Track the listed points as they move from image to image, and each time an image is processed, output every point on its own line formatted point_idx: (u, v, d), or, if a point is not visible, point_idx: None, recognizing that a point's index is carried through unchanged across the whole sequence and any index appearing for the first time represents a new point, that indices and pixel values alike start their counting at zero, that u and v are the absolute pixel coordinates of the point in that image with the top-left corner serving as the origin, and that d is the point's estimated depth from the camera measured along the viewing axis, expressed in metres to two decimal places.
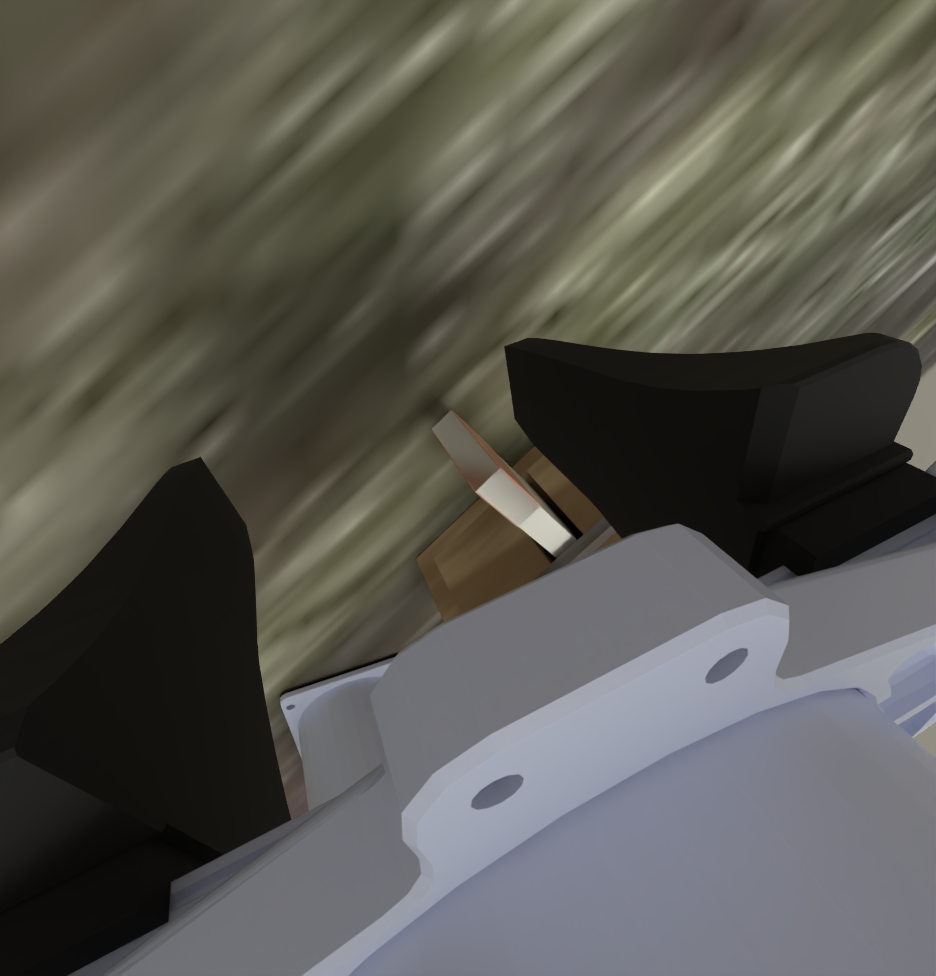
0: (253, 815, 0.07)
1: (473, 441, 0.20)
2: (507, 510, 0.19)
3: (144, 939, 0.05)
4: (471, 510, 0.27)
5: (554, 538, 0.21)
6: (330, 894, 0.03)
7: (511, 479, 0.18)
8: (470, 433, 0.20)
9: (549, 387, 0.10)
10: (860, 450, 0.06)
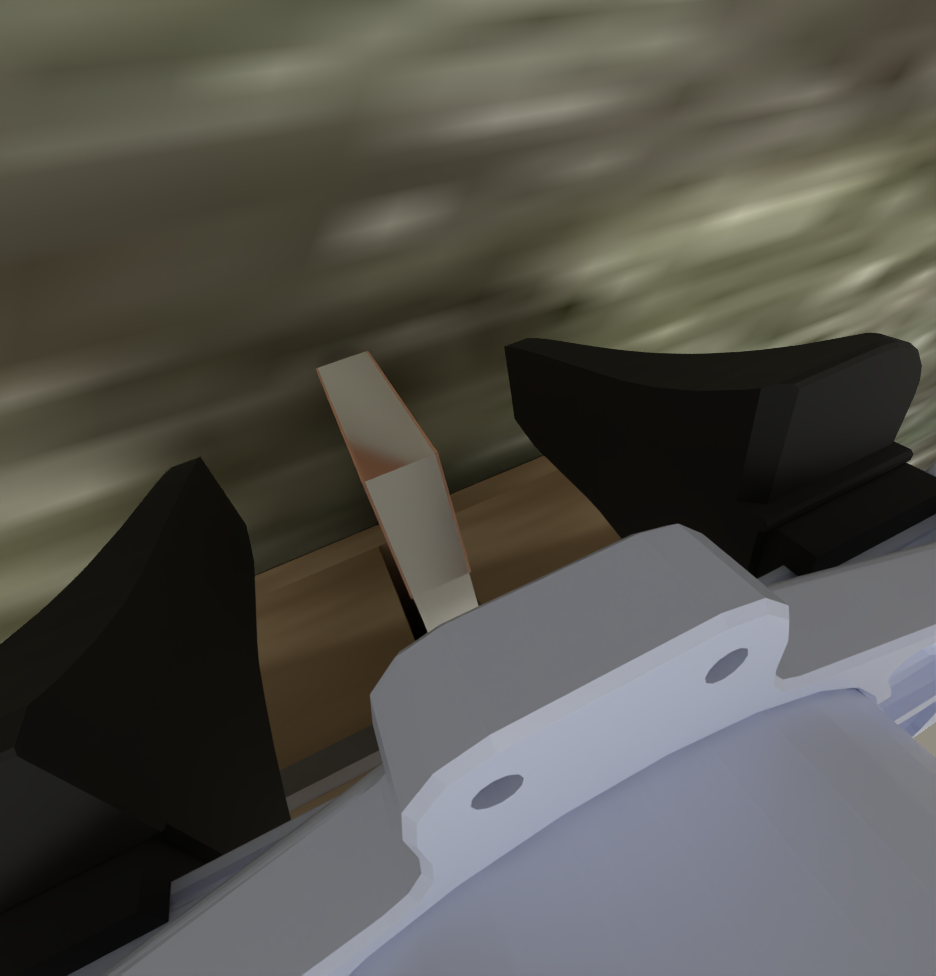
0: (253, 815, 0.07)
1: (391, 399, 0.10)
2: (408, 555, 0.09)
3: (144, 939, 0.05)
4: (324, 552, 0.16)
5: None
6: (330, 894, 0.03)
7: (446, 491, 0.08)
8: (390, 387, 0.10)
9: (549, 387, 0.10)
10: (860, 450, 0.06)
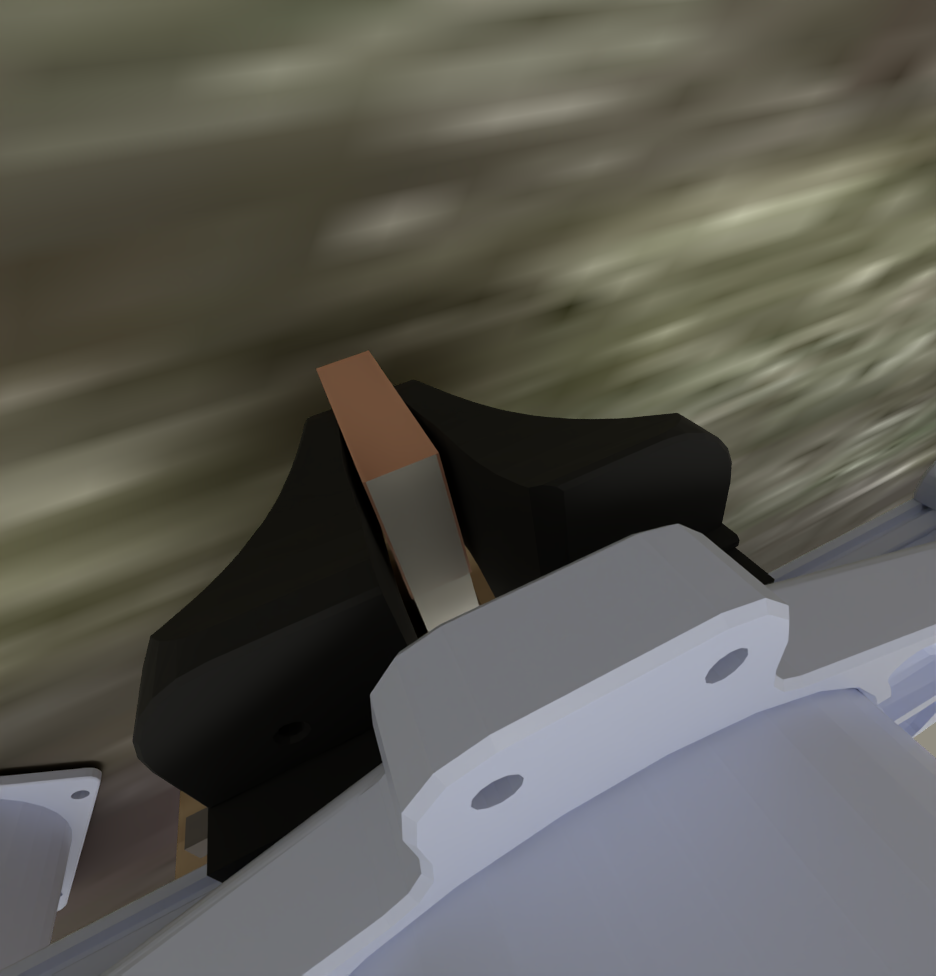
0: None
1: (392, 399, 0.10)
2: (409, 556, 0.09)
3: None
4: None
5: None
6: (330, 893, 0.03)
7: (446, 491, 0.08)
8: (391, 387, 0.10)
9: None
10: None
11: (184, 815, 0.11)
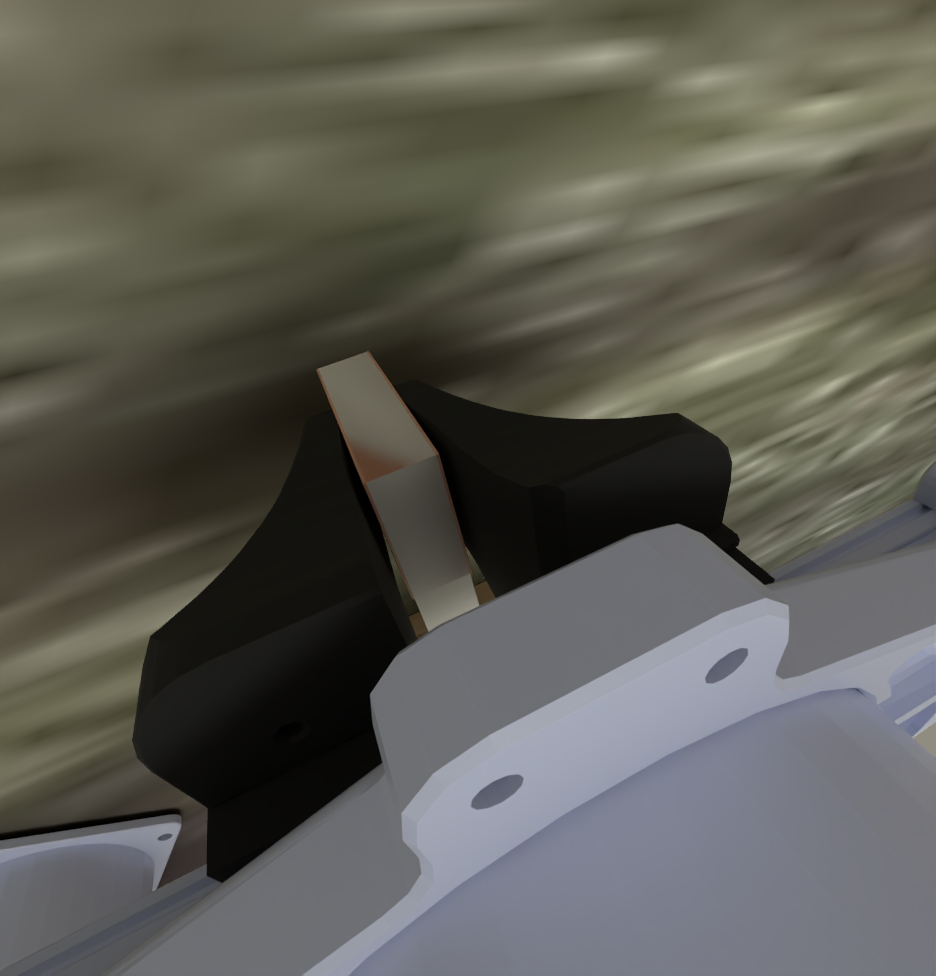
0: None
1: (392, 400, 0.10)
2: (409, 556, 0.09)
3: None
4: None
5: None
6: (330, 893, 0.03)
7: (447, 492, 0.08)
8: (391, 388, 0.10)
9: None
10: None
11: None
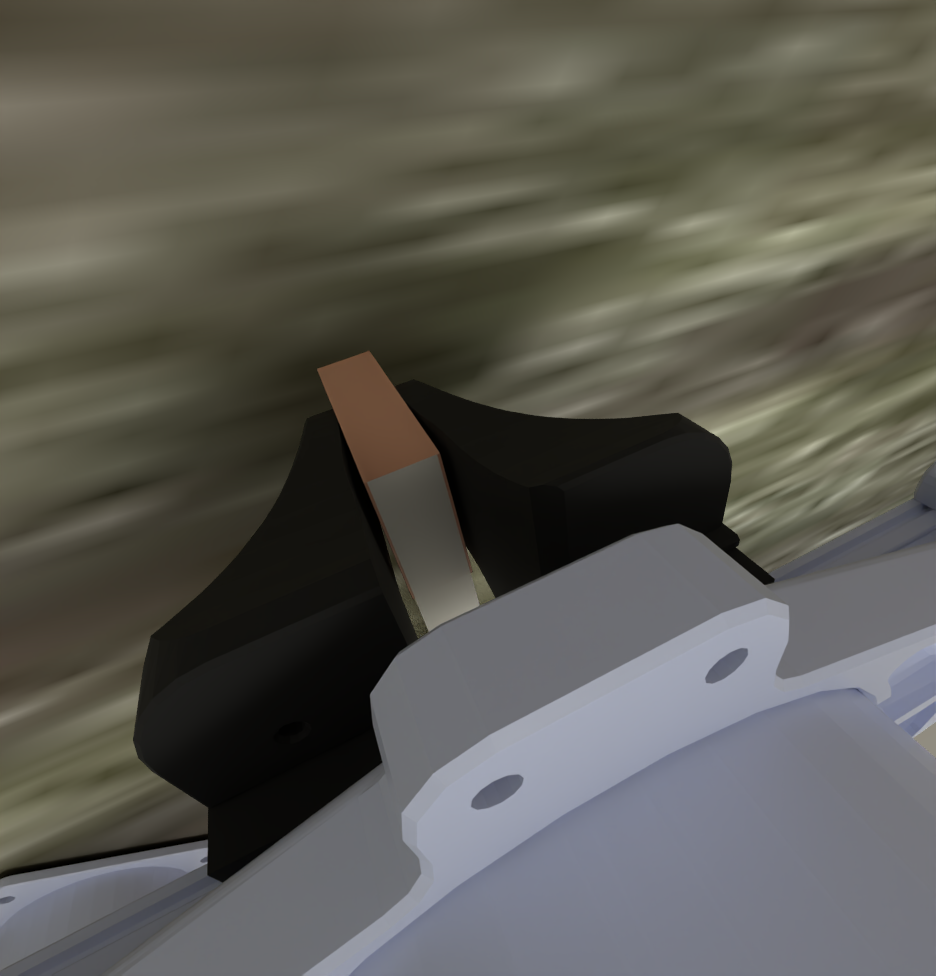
0: None
1: (393, 399, 0.10)
2: (410, 555, 0.09)
3: None
4: None
5: None
6: (330, 894, 0.03)
7: (447, 491, 0.08)
8: (392, 388, 0.10)
9: None
10: None
11: None
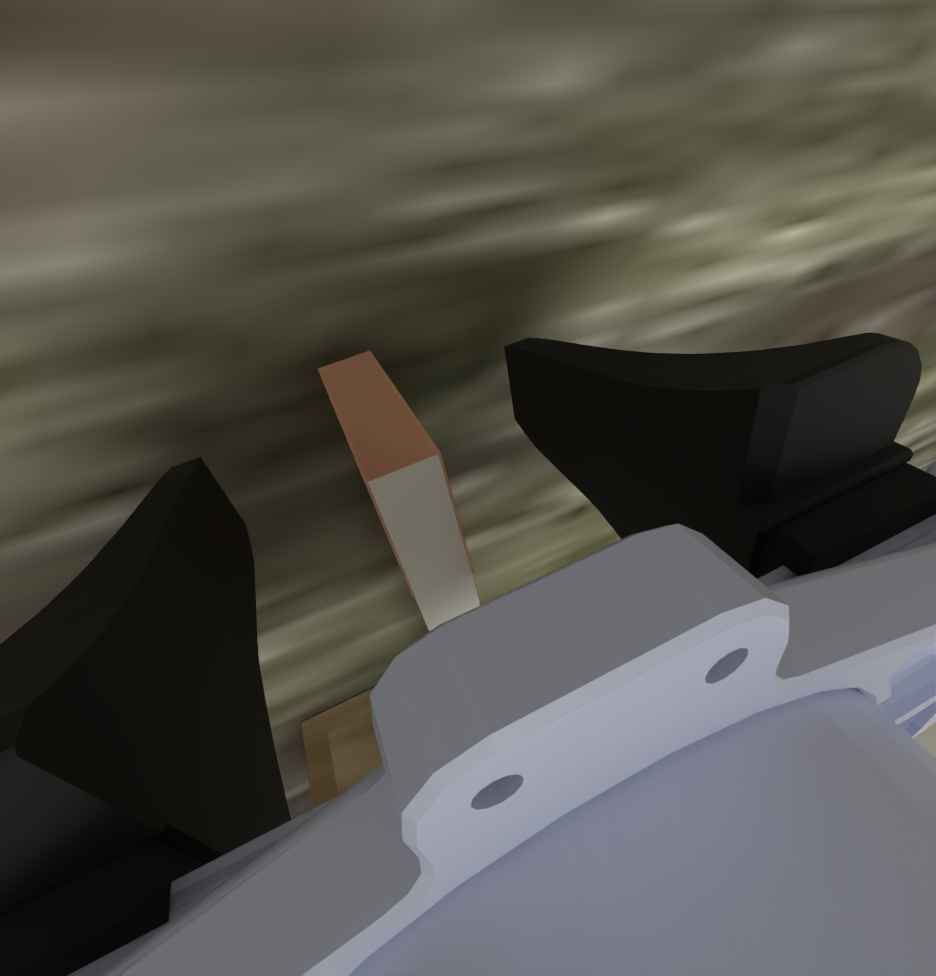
0: (253, 815, 0.07)
1: (394, 399, 0.10)
2: (411, 555, 0.09)
3: (144, 939, 0.05)
4: None
5: None
6: (330, 894, 0.03)
7: (448, 491, 0.08)
8: (392, 387, 0.10)
9: (549, 387, 0.10)
10: (860, 450, 0.06)
11: None
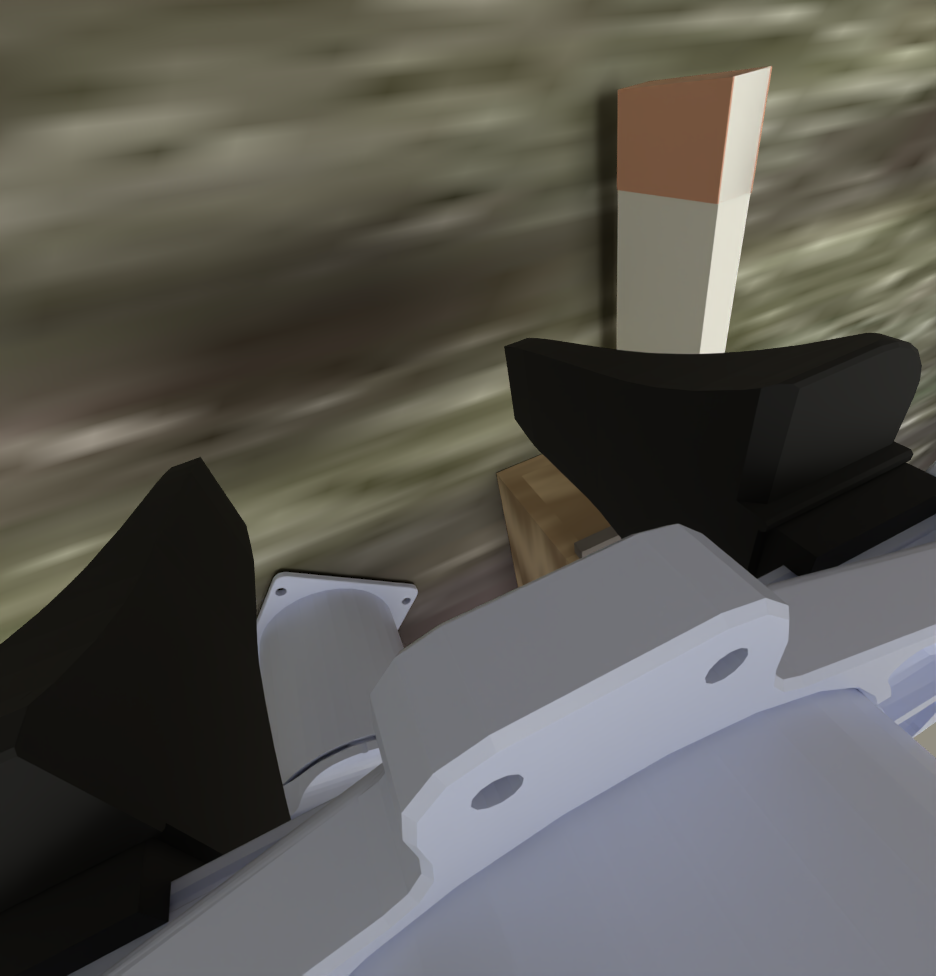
0: (253, 815, 0.07)
1: (704, 75, 0.15)
2: (730, 158, 0.14)
3: (144, 939, 0.05)
4: None
5: (724, 270, 0.16)
6: (331, 893, 0.03)
7: (764, 104, 0.14)
8: (695, 76, 0.15)
9: (549, 387, 0.10)
10: (860, 450, 0.06)
11: (561, 550, 0.21)
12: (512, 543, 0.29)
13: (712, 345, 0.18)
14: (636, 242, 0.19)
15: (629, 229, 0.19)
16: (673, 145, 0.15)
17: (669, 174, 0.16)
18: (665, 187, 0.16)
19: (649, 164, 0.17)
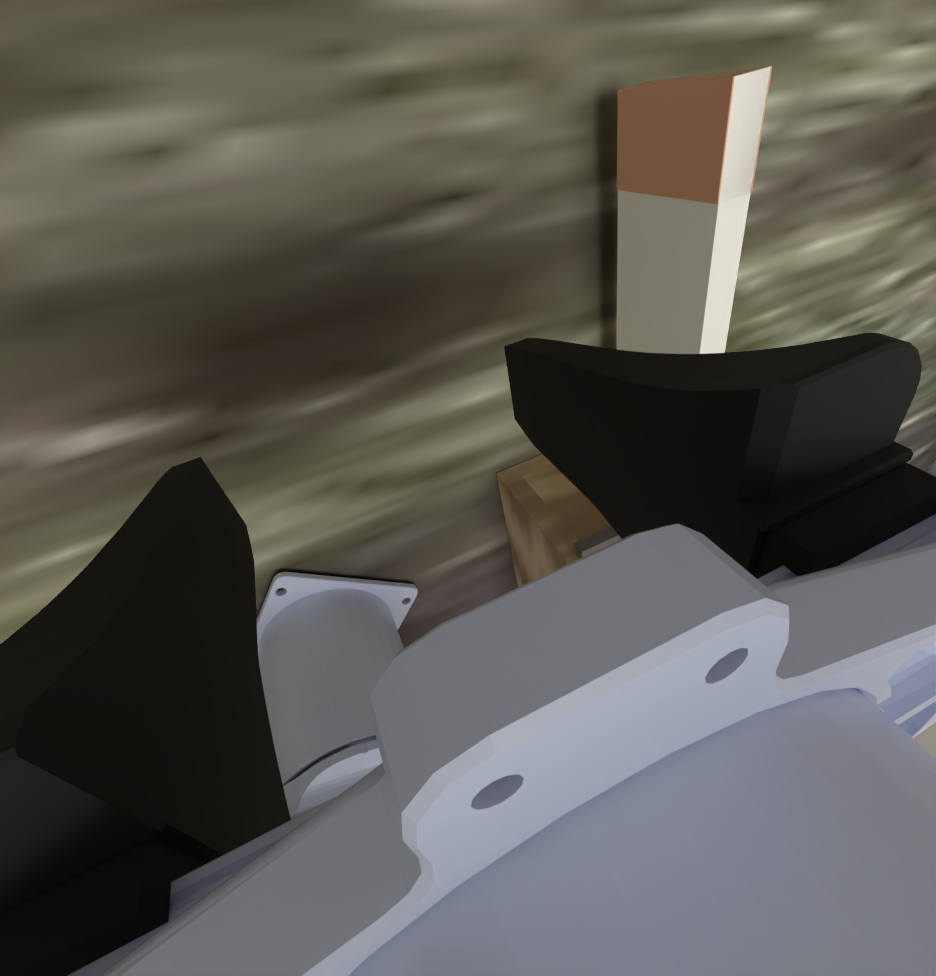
0: (253, 815, 0.07)
1: (704, 75, 0.15)
2: (730, 158, 0.14)
3: (144, 939, 0.05)
4: None
5: (724, 270, 0.16)
6: (331, 893, 0.03)
7: (764, 104, 0.14)
8: (695, 76, 0.15)
9: (549, 387, 0.10)
10: (860, 450, 0.06)
11: (561, 550, 0.21)
12: (512, 543, 0.29)
13: (712, 345, 0.18)
14: (636, 242, 0.19)
15: (629, 229, 0.19)
16: (673, 145, 0.15)
17: (669, 174, 0.16)
18: (665, 187, 0.16)
19: (649, 164, 0.17)
